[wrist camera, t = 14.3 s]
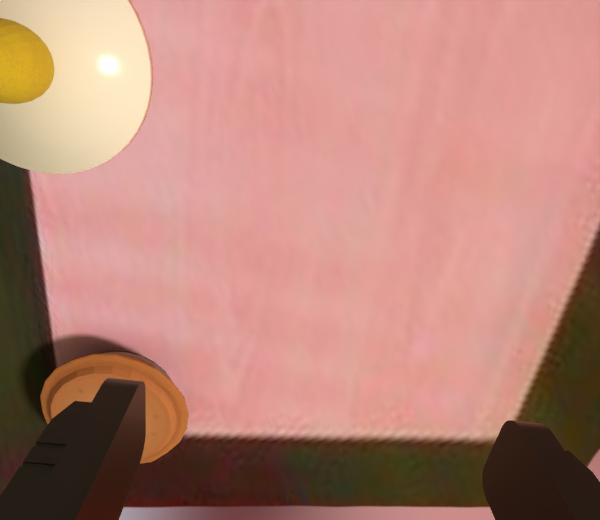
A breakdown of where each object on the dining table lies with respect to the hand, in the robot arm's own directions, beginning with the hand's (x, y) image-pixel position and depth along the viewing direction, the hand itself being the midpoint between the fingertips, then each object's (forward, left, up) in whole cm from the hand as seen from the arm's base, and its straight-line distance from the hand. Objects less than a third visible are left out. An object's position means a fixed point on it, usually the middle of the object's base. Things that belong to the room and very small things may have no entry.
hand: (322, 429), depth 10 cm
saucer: (-4, -22, -32) cm, 39 cm away
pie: (+30, -16, -32) cm, 47 cm away
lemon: (-4, -22, -31) cm, 38 cm away
